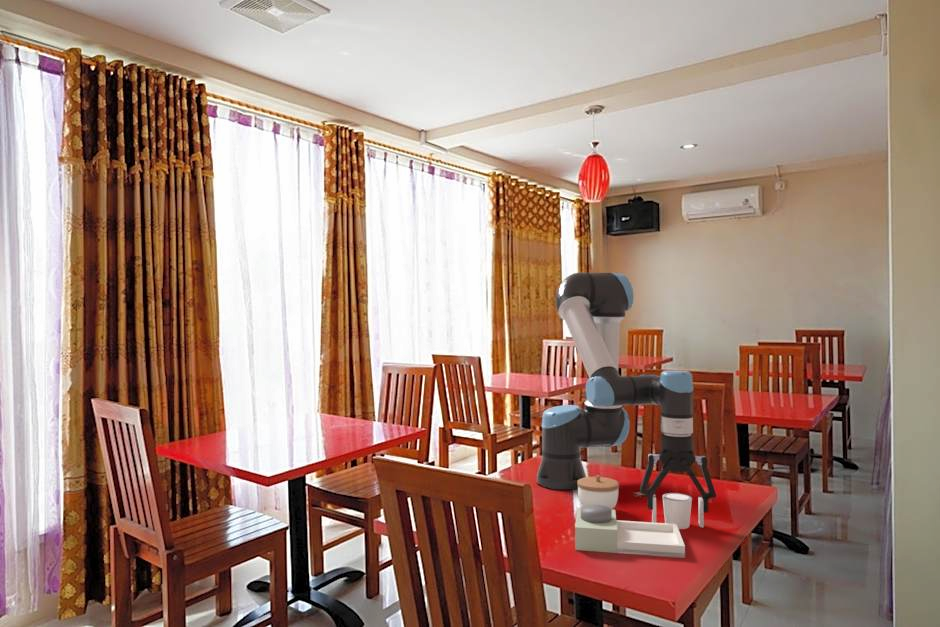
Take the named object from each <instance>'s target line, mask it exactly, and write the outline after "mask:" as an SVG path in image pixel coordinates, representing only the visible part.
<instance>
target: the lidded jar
mask: <svg viewBox="0 0 940 627" xmlns="http://www.w3.org/2000/svg"><path fill="white" fill-rule="evenodd" d="M577 485H578V489H577V494H578V498H579V503H580V504H581V507H582V506H585V505H602V506H606V507H609V508H610V509H611V510H614V508H615V507H616V505H617V503H618V500H619V499H618V498H619V488H620V483H619V481H617V480H616V479H613V478H609V477H604V476H601V475H600V474H597V475H595V476H586V477H585V478H581V479H579V480H578V481H577Z"/></svg>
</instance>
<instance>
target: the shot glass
mask: <svg viewBox="0 0 940 627" xmlns="http://www.w3.org/2000/svg"><path fill="white" fill-rule="evenodd" d="M661 497H662V505H663V506H662V507H663V515H664V523H668V524H677V527H678V529H679V530H685V529H688V528H690V523H691V512H692V511H691V510H692V501H693V498H692V496H690V495H688V494H684V493H678V492H669V493H664V494H662V496H661Z"/></svg>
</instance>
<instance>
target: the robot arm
mask: <svg viewBox="0 0 940 627" xmlns="http://www.w3.org/2000/svg"><path fill="white" fill-rule="evenodd" d="M633 304H634V290H633V286H632V283H631V281H630V280H629V278H628V277H627V276H626V275H624V274H622V273H618V272H617V273H616V272H582V271H581V272H576V273H572V274H570V275H568V276H567V277H565V278H564V279H563V280H562V281H561V282H560V284H559V285H558V287H557V290H556V294H555V308H556V311H557V313H558V316H559V318H560V319H562V320H563V321H565V324H566V325H567V329H568V330H569V333H570V335H571V337H572V338H571V339H572V341H573V343H574V345H575V347H576V350H577V351H578V355H579V357H580V359H581V361H582V364H583V366H584V369H585V372H586V373H587V376H588V378H587V379H588V380H587V381H586V383H585V393H586V400H585V401H584V402H583V403H584V406H583V409H581V407H580V406H579V405H576V404H567V405H565V404H564V405H563V404H562V405H557V406H553V407H549V408H547V409H545V410H544V411H543V413H542V416H541V418H542V420H541V445H542V446H541V447H542V448H541V454H542V456H541V461H540V464H539V467H538V470H537V473H536V483H537V482H538V483H539V484H540V485H542V486H541V487H543V486H545V487H544V488H546V487H547V489H552V490H565V491H566V490H567V491H568V490H569V491H570V490H578V485H577V481H578V480H579V479H581V478H585V477H587V474H586V472H585V468H584V466H583V463H582V458H581V450H582V449H588V448H603V447H605V448H611V447H614V446H620V445H622V444H623V443H624V442H625V441H626V440H627V437H628V435H629V433H630V418H629V414H628V411H627V410H626V409H624V408H623V406H641V405H642V406H644V405H655V406H659V407H660V431H661V432H662V433H661V434H660V452H659V454H653V453H648V454H647V465H646V468H645V471H644V475H643V478H642V481H641V483H640V486H639V491H640V493H641V495H646V497H647V499H646V500H647V504H646V505H647V509H648V510H651V522H652V523H657V497H656V494H655V493H656V492H657V490H658V488H660V485H661V484H662V482H664V479H665V478H666V476H667V475H668V474H669V473H677V472H678V473H682V474H685V473H687V475H688V476H689V478H690V480H691V481H692V483H693V484H694V486H695V487H696V489H697V491H698V492H699V495H700V496H698V499H697V500H698V501H697V502H698V503H697V504H698V507H697V509H698V526H699V527H700V528H704V526H705V525H704V524H705V523H704V522H705V521H704V519H705V518H704V514H705V513H708V512H709V500H710V499H712V498H716V497H717V493H716V490H715V488H714V484H713V482H712V478H711V475H710V472H709V469H708V458H707V457H706V455H699V456H698V455H695V454H694V436H693V435H692V434H693V433H694V417H693V416H694V389H695V388H694V385H693V375H692V373H691V372H690V371H688V370H680V369H675V370H674V369H673V370H671V369H670V370H669V369H668V370H663V371H662V372H660V375H657V374H653V373H643V374H640V375H620V373H619V363H620V362H619V358H620V357H619V356H620V355H619V353H620V331H621V330H620V329H621V328H620V327H621V326H620V325H621V324H620V323H621V322H622V321H623V320H624V319H625V317H626V312H628V311H629V310H630V309H632V306H633ZM658 460H659V461H660V462H661V463H662V467H661V468H660V470H659V472H658V473H657V475H656V477H655V478H654V480H653V482H652V483H651V485H650V486H648V485H649V482H650V479H651V476H652V474H653V470H654V467H655V466H654V465H655V464H657V462H658ZM695 462H696V463H697V464H698V466H699V467H700V469H701V472H702V475H703V478H704V482H705V485H706V487H707V490H708V491H705V490H704V488H703V486H702V484H701V483H700V481H699V479H698V478H697V476H696V474H695V473H694V471H693V470H692V468H691V467H692V466H693V464H694V463H695ZM540 485H539V486H540ZM648 487H649V488H648Z"/></svg>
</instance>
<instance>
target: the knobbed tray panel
mask: <svg viewBox="0 0 940 627" xmlns="http://www.w3.org/2000/svg"><path fill="white" fill-rule="evenodd" d="M616 513H617V512H616V509H612V510H611V509H610V508H609V507H606V506H602V505H585V506H582V505H581V507H576V514H575V524H574V532H575V533H574V536H575V537H574V541H575V542H574V546H575V548H574V550H575V551H583V552H585V551H587V552H598V553H614V554H625V555H627V554H628V555H639V556H653V557H665V558H680V559H685V558H686V545H685V542H684V540H683V537H682V535H681V532H680V529H678V527H677V524H668V523H665V522H656V523H653V522H652V521H651V522H650V521H649V522H648V521H633V520H632V521H631V520H618V519H617V515H616Z"/></svg>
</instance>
